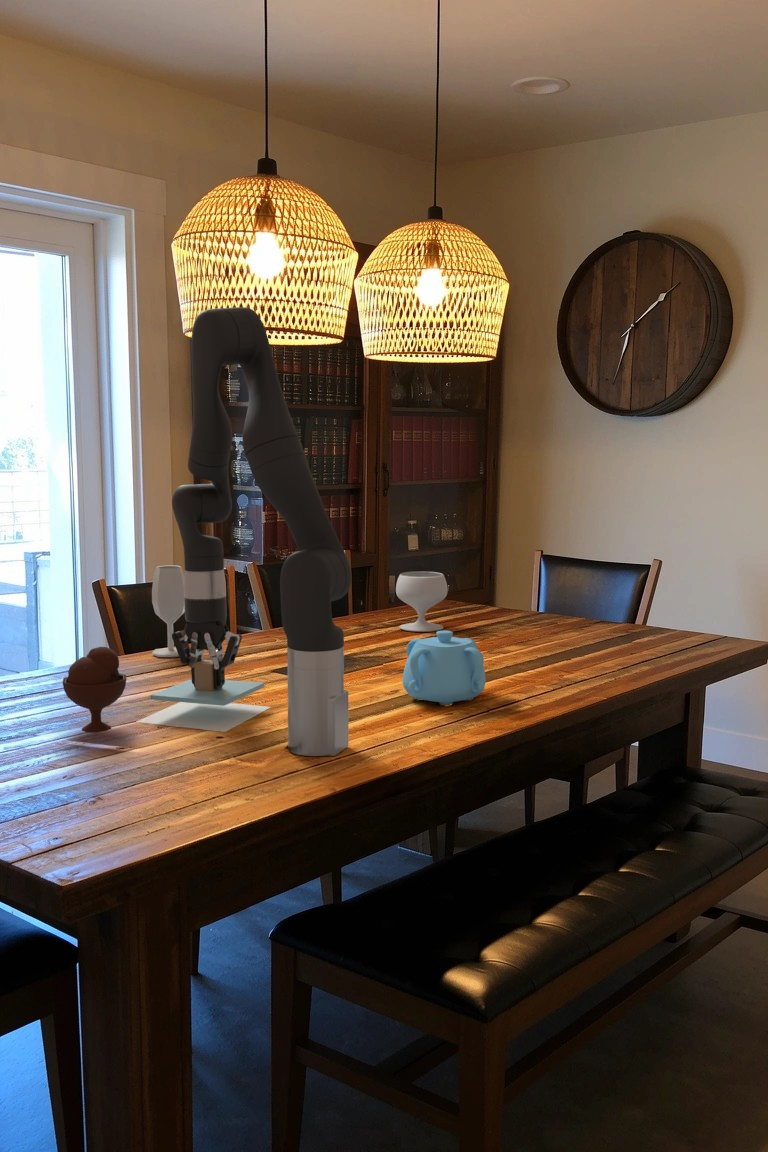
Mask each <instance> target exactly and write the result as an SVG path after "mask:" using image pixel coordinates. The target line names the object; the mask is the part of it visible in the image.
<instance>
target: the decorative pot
mask: <svg viewBox="0 0 768 1152" xmlns="http://www.w3.org/2000/svg"><path fill="white" fill-rule="evenodd" d="M435 632H436V636H432V637H427V638H419V637H418V638H414V639H412V640H410V641H409V642H408V644H407V646H406V654H407V655H406V656H407V660H406V662H405V666H404V669H403V674H402V685H403V688H404V690H405V692H406V693H407V695H409V696H410V697H412V698H414V699H415V698H416V699H423V700H424V701H429V702H435V703H439V704H441V705H450V704H453V705H454V703H456V702H460V701H469V700H468V699H473V700H474V698H475V697H478V696H479V695H480V694H481V693H482V692H484V691H485V686H486V671H485V667H484V666H485V665H484V663H485V660H484V655H483V654H482V652H481V650H479V649H478V644H477V643H476V641H475V640H474V639H472V638H469V637H464V638H463V637H462V638H461V637H455V636H453V634H454V632H453V631H451V630H438V631H435ZM441 705H440V706H441Z"/></svg>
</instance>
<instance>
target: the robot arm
mask: <svg viewBox="0 0 768 1152" xmlns="http://www.w3.org/2000/svg"><path fill="white" fill-rule="evenodd" d="M191 331H192V332H191V344H190V345H191V346H190V349H191V352H190V353H191V386H192V388H191V389H192V411H193V412H192V414H193V416H192V425H191V426H192V428H191V436H190V442H189V443H190V444H189V451H188V458H187V459H188V460H187V469H188V471H189V472H190V474H191V475H193V476H194V477H196V478H198V479H202V480H206V481H211V483H200V484H198V483H196V484H194V483H193V484H182V485H179V486H178V487H177V488H176V489H175V491H174V493H173V495H172V499H171V507H172V511H173V514H174V517H175V520H176V523H177V526H178V529H179V533H180V537H181V540H182V546H183V557H184V558H183V559H184V562H183V563H184V604H185V611H184V619H185V622H186V623H185V626H184V629H183V630H179V631H178V630H177V631H175V632H173V634H172V639H173V641H174V648H176V649H177V652H178V655H179V660H180V662H181V664H184V665H188V666H189V667H190V671H191V672H190V673H191V679H192V684H194V687H195V670H194V663H197V662H199V661H202V660H204V654H205V653H206V651H207V652H208V655H209V658H211V660H212V663H213V667H214V669H213V681H214V689H220V688H222V686H223V685H224V683H225V680H226V677H225V676H226V674H225V669H226V667H228V666H230V665H233V664H234V663H235V661H236V657H237V656H238V655H237V654H238V651H239V648H240V645H241V643H242V639H243V636H242V634H240V633H237V634H236V633H233V632H231V631H230V630H229V627H228V625H227V618H228V617H227V616H228V613H227V612H228V610H227V609H228V608H227V606H228V605H227V585H226V584H227V582H226V575H225V569H224V568H225V563H224V561H225V560H224V543H223V541H222V539H221V538H219V537H217V536H213V535H206V534H205V535H204V534H202V533H201V532H200V531H199V529H198V528H197V525H198V524H216V523H218V524H219V523H222V522H225V521H226V520H227V519H228V518H229V516H230V515H231V513H232V510H233V499H232V493H231V489H230V479H229V465H230V464H229V463H230V455H231V450H232V444H233V428H232V423H231V420H230V417H229V415H228V413H227V410H226V409H225V406H224V404H223V401H222V398H221V394H220V391H219V390H220V389H219V382H220V376H221V371H222V367H227V366H234V365H239V366H240V368H241V370H242V372H243V373H242V374H243V376H244V380H245V383H246V387H247V391H248V405H247V411H246V416H245V419H244V420H245V421H244V425H243V431H242V449H243V452H244V454H245V457H246V460H247V463H248V466H249V469H250V471H251V474H252V477H253V480H254V481H255V483H256V485H257V487H258V488H259V490H260V491H261V493H262V494H263V495H264V497H265V499H267V501H268V502H269V503H270V504H271V505H272V506H273V507H272V508H274V509H275V510H276V512H277V513H278V514H279V515H280V516H281V518H282V519H283V520H284V522H285V524H286V525H287V527H288V529H289V530H290V533H291V535H292V537H293V541H294V543H295V546H296V550H297V551H295V552H292V553H291V554H289V555H288V557H287V558H286V559H285V560H284V562H283V563H282V566H281V570H280V579H279V592H280V593H279V594H280V612H281V624H282V628H283V632H284V634H285V636H286V646H287V647H286V649H287V650H286V651H287V652H286V654H287V655H286V656H287V657H286V658H287V671H286V672H287V749H288V751H289V752H290V753H292V754H296V755H299V756H306V757H322V756H333V757H334V756H337V755H339V753H342V751H344V750H345V749H346V748H348V747H349V691H348V690H347V689H345V684H344V683H345V677H344V676H345V675H344V674H345V673H344V671H345V669H344V667H345V653H344V651H345V650H344V649H345V647H344V645H345V643H344V642H345V641H344V640H345V637H344V636H345V634H344V630H343V629H342V627H340V626H339V625H336V624H335V622H334V621H333V614H332V602H334V601H335V602H336V601H338V600H340V599H342V598H343V597H345V596H346V595H347V594H348V592H349V590H350V587H351V584H352V580H353V579H352V575H353V574H352V569H351V564H350V562H349V559H348V556H347V554H346V552H345V549H344V548H343V546H342V544H341V541H340V540H339V538H338V536H337V533H336V531H335V530H334V527H333V525H332V523H331V521H330V519H329V516H328V513H327V512H326V510H325V507H324V505H323V502H322V498H321V496H320V493H319V491H318V487H317V485H316V482H315V479H314V476H313V475H312V472H311V469H310V468H311V467H310V466H309V462H308V458H307V456H306V453H305V450H304V448H303V444H302V442H301V439H300V436H299V433H298V431H297V429H296V427H295V424H294V422H293V419H292V416H291V413H290V411H289V408H288V405H287V401H286V399H285V395H284V392H283V390H282V386H281V383H280V380H279V375H278V372H277V368H276V364H275V362H274V361H275V360H274V356H273V353H272V352H273V351H272V349H271V348H272V347H271V345H270V341H269V337H268V334H267V331H266V328H265V326H264V323H263V321H262V319H261V318H260V316H259V314H258V313H257V311H255V310H254V309H251V307H250V308H249V307H244V306H242V307H241V306H238V307H237V306H236V307H223V308H222V307H221V308H209V309H205V310H202V311H201V312H200V313H198V314H197V316H196V317H195V319H194V321H193V325H192V330H191ZM188 640H189V641H190V643H191V644H190V645H189V641H188ZM225 640H226V641H225ZM224 641H225V643H226V644H227V646H226V649H225V648H224V647H225V646H224V644H223V643H224Z"/></svg>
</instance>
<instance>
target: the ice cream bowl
mask: <svg viewBox="0 0 768 1152" xmlns="http://www.w3.org/2000/svg"><path fill="white" fill-rule="evenodd" d="M119 668H120V660H119V657H118V655H117V653H116V651H114V650H113V649H112V648H110V647H107V646H98V647H95V648H94V647H93V648H91V649H90V650H89V651H88V653H87V655H86V656H81V657H80V658H79V659H76V660H75V661H73V663H72V664H71V666H69V668H68V672H67V673H68V675H67V676H66V677H63V678H62V686H63V687H62V688H63V691H64V694H65V695H66V696H67V698H68V699H69V700H70V701H71V702H73V703H74V704H75V705H77V706H79V707H80V708H82V709H83V708H84V709H86V710H87V709H88V710H89V712H90V718H91V719H90V722H89V723H87V724H86V725H85V726H83V727H82V728H81V731H82V732H85V733H94V734H97V733H102V732H103V733H104V732H108V731H109V730H112V725H110V724H108V723H106V722H103V721H102V712H103V709H105V708H107V707H109V706H111V705H112V704H114V703H115V702H116V701H117V700H118V699H119V698H120V697H121V696H122V695H123V693H124V690H125V688H126V686H127V685H126V684H127V674H125V673H120V672H119Z"/></svg>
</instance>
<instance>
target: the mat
mask: <svg viewBox="0 0 768 1152" xmlns="http://www.w3.org/2000/svg"><path fill="white" fill-rule="evenodd" d="M270 708H272V707H271V706H265V705H257V704H256V705H255V704H244V703H236V702H235V703H234V702H231V703H229V704H227V705H225V706H221V705H209V704H198V703H186V702H176V703H174V704H172V705H170V706H168V707H166V708H164V709H162V710H159V711H157V712H154V713H152V714H150V715H148V716H146V717H145V716H144V717H143V718H141V719H139V720H137V721H135V723H138V724H139V723H140V724H141V723H142V724H149V725H158V726H160V725H161V726H168V727H177V728H186V729H195V730H204V731H214V732H223V733H226V732H228V731H229V730H232V729H233V728H235V727H237V726H239V725H241V724H243V723H244V722H246V721H248V720H250V719H253V718H254V717H255V716H258V715H259V714H261V713H263V712H265V711H267V710H268V709H270Z"/></svg>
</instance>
